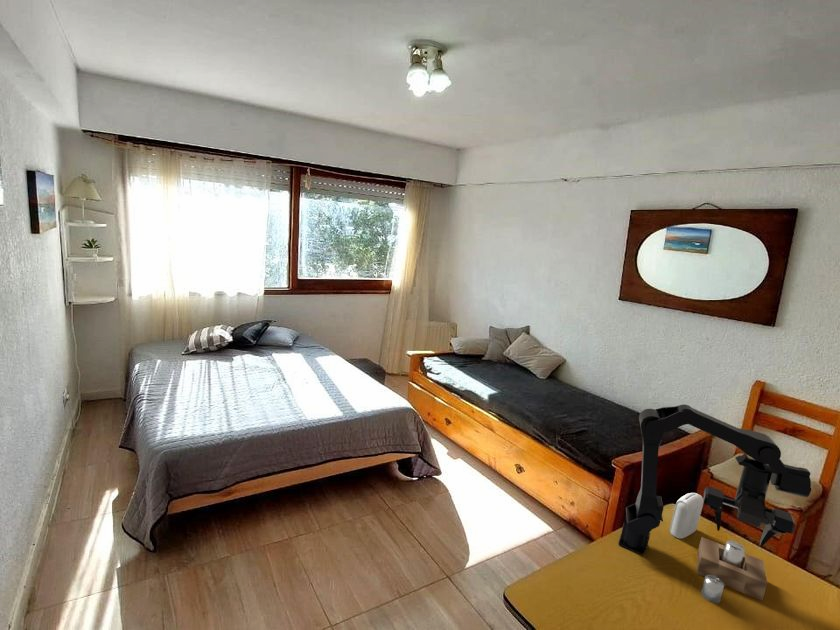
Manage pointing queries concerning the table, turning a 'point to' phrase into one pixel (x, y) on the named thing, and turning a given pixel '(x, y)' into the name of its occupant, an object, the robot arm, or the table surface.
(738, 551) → the silver upright cylinder
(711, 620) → the table surface
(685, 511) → the white rounded printed block
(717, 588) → the short pin
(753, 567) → the hole board
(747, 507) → the robot arm
